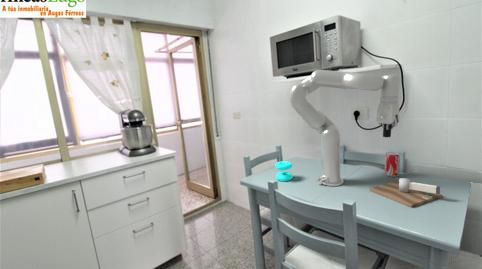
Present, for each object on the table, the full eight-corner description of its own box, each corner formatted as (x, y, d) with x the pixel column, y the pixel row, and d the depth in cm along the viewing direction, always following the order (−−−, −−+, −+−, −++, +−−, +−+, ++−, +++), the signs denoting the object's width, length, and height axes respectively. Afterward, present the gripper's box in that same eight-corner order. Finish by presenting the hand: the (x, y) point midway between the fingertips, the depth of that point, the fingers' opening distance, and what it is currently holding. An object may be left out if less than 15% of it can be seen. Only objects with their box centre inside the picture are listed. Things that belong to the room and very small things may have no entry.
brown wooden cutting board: (411, 207, 101) (411, 204, 101) (369, 190, 121) (369, 187, 121) (444, 196, 108) (444, 193, 108) (398, 182, 128) (399, 179, 128)
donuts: (272, 162, 149) (287, 159, 152) (273, 177, 150) (287, 175, 153) (279, 166, 139) (295, 163, 142) (280, 183, 141) (295, 179, 144)
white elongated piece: (398, 190, 114) (398, 180, 113) (399, 188, 117) (400, 177, 116) (439, 198, 104) (439, 186, 103) (439, 194, 107) (440, 183, 106)
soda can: (381, 174, 141) (382, 152, 139) (393, 172, 141) (393, 151, 139) (390, 178, 134) (390, 155, 132) (402, 176, 135) (403, 154, 132)
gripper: (371, 100, 126) (369, 135, 129) (395, 101, 111) (392, 140, 115) (383, 99, 127) (381, 133, 130) (408, 100, 113) (405, 139, 116)
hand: (386, 136), depth 122 cm, fingers closed
